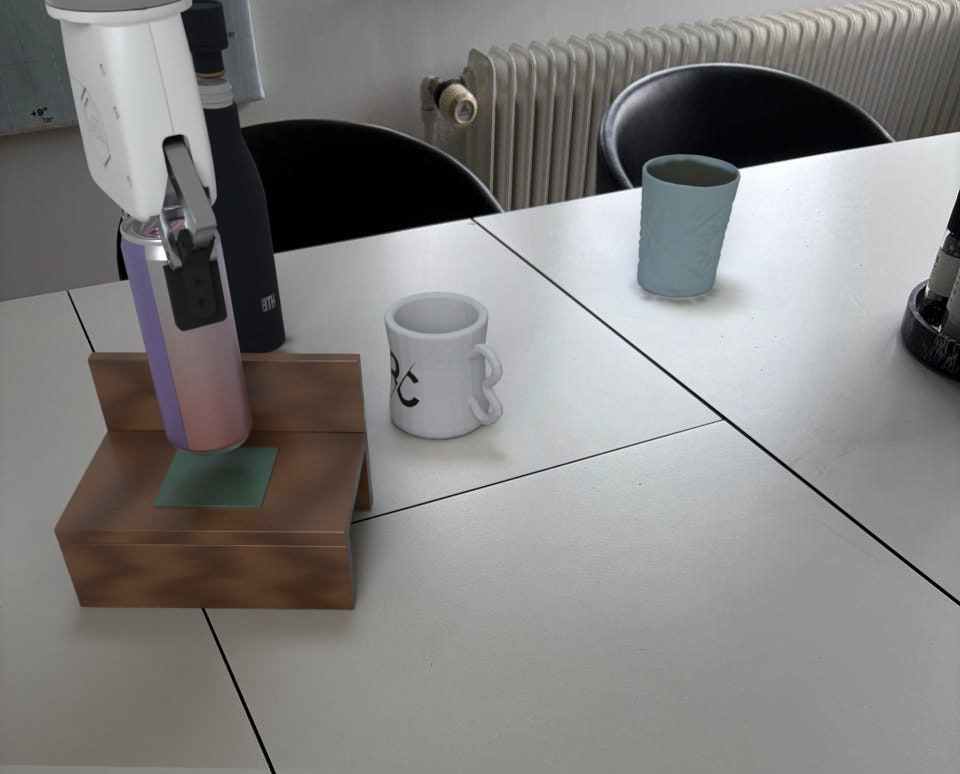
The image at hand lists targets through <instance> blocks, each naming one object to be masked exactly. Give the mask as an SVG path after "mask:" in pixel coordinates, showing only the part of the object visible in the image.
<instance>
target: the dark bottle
mask: <svg viewBox="0 0 960 774" xmlns="http://www.w3.org/2000/svg"><path fill="white" fill-rule="evenodd" d="M180 14H181V18H182V22H183V26H184V30H185V34H186V38H187V42H188V46H189V50H190V53H191V56H192V62H193V66H194V71H195V75H196V79H197V84H198V88H199V93H200V98H201V102H202V107H203V112H204V116H205V121H206V126H207V131H208V137H209V142H210V147H211V153H212V159H213V165H214V173H215V180H216V191H217V197H216V200H215V202H214V204H213V205H212V206H211V208H212V210H213V213H214V215H215V218H216V224H217V225H216V229H217V231H218V233H219V235H220V239H221V245H222V251H223V257H224V263H225V268H226V274H227V280H228V286H229V291H230V297H231V303H232V309H233V314H234V320H235V326H236V332H237V337H238V343H239V349H240V353H270V352H271V351H274V350H276V349H277V348H280V347H281V346H282V345H283V344H284V343H285V341H286V331H285V322H284V316H283V308H282V303H281V302H282V301H281V295H280V289H279V281H278V274H277V267H276V261H275V260H276V259H275V253H274V245H273V239H272V232H271V226H270V225H271V224H270V218H269V211H268V205H267V203H268V202H267V197H266V191H265V188H264V184H263V181H262V178H261V176H260V173H259V170H258V168H257V164H256V162H255V160H254V158H253V156H252V154H251V151H250V150H249V147H248V145H247V143H246V140H245V139H244V137H243V135H242V128H241V121H240V115H239V114H240V113H239V108H238V104H237V102H236V101H235V100H233V98H234V94H233V93H232V89H233V86H232V85H231V83H230V79H228V78H227V77H225V76H224V75H225V74H226V73H227V71H226V68H225V63H224V59H223V52H222V51H224V50H226V49H228V48H229V38H228V31H227V25H226V24H227V23H226V18H225V12H224V5H223V3H222V2H221V1H220V0H192V6H191V7H190V8H189V9H187V10H185V11H183V12H181V13H180Z"/></svg>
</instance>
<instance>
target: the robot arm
mask: <svg viewBox="0 0 960 774" xmlns="http://www.w3.org/2000/svg"><path fill="white" fill-rule="evenodd" d="M43 1H44V4H45V9H46V13H47V15H48V16H50V17H51V18H52V19H54V20H58V21H59V23H60V30H61V36H62V43H63V49H64V55H65V61H66V67H67V72H68V76H69V82H70V87H71V91H72V92H71V93H72V96H73V101H74V105H75V111H76V115H77V120H78V125H79V131H80V136H81V140H82V145H83V149H84V155H85V158H86V163H87V168H88V170H89V174H90V176H91V178H92V180H93V181H94V182H95V184H96V185H97V186H98V187H99V188H100V189H101V190H102V191H103V192H104V193H105V194H106V195H107V196H108V197H109V198H110V199H111V200H112V201H113V202H115V204H117V206H119V209H120V214H121V218H122V221H124V220H125V219H126V218H127V217H129V216H132V217H133V218H135V219H136V220H138V221H140V222H143V223H144V222H149V221H150V216H154V220H155V223H156V226H157V229H158V232H159V235H160V239H161V242H162V245H163V248H164V251H165V255H166V258H167V261H168V264H169V265H164V266H163V270H164V275H165V279H166V284H167V288H168V293H169V298H170V302H171V307H172V312H173V316H174V321H175V325H176V326H177V327H178V328H179V329H180V330H181V331H188V330H191V329H195V328H199V327H203V326H207V325H210V324H214V323H218V322H222V321H224V320H225V319H226V318H227V310H226V305H225V299H224V294H223V288H222V282H221V277H220V271H219V266H218V253H217V249H216V245H215V242H214V240H215V239H216V237H215V236H214V233H215V230H216V225H217V224H216V218H215V215H214V213H213V210H212V208H211V206H212V205H213V204H214V202H215V200H216V197H217V191H216V180H215V173H214V165H213V159H212V153H211V147H210V142H209V137H208V131H207V126H206V121H205V116H204V112H203V107H202V102H201V98H200V93H199V88H198V84H197V79H198V78H197V76H196V75H195V71H194V70H195V69H194V63H193V57H192V53H191V52H190V50H189V46H188V42H187V38H186V34H185V30H184V26H183V22H182V18H181V14H180V13H181V12H183V11H185V10H187V9H189V8H190V7H191V6H192V0H43ZM175 198H177V200H178V202H179V204H180V205H179V206H181V207H179V208H174V209H169V210H165V211H164V210H163V206H170V204H169V200H171V199H175ZM180 219H185V222H184V225H185V229H181V230H179V233H178V237H177V242H176V240H175V237H174V234H173V231H172V227H171V224H170V222H171V221H176V220H180Z"/></svg>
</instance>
